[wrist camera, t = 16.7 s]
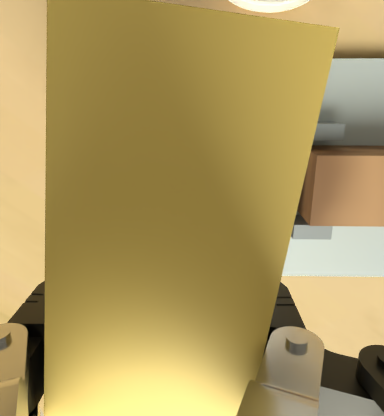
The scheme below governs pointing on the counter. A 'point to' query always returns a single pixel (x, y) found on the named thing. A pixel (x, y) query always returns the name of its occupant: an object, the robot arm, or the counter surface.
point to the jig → (344, 135)
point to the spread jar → (268, 5)
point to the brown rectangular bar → (344, 186)
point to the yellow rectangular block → (169, 199)
